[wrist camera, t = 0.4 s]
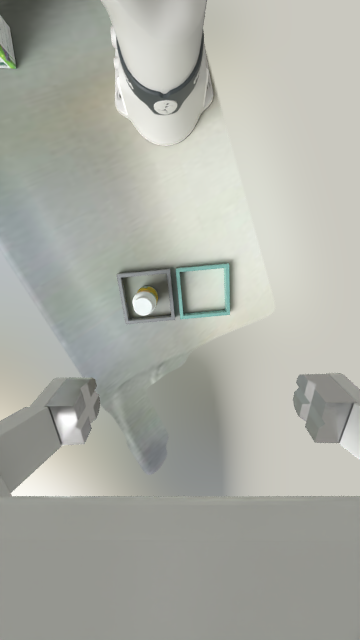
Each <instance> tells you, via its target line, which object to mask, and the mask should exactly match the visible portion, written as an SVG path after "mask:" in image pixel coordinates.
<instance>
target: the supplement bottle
mask: <svg viewBox="0 0 360 640" xmlns="http://www.w3.org/2000/svg"><path fill="white" fill-rule="evenodd" d="M157 301H158V294H157V291H156V290H155V289H154V288H152V287H150V286H145V287H142V288H140V289H139V290H138V292H137V293H136V295H135V296H134V298H133V302H132V304H133V307H134V310H135V312H136V313H137V314H139V315H142V316H145V315H148V314H150V313H152V312H153V311H154V310H155V308H156V305H157Z"/></svg>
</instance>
